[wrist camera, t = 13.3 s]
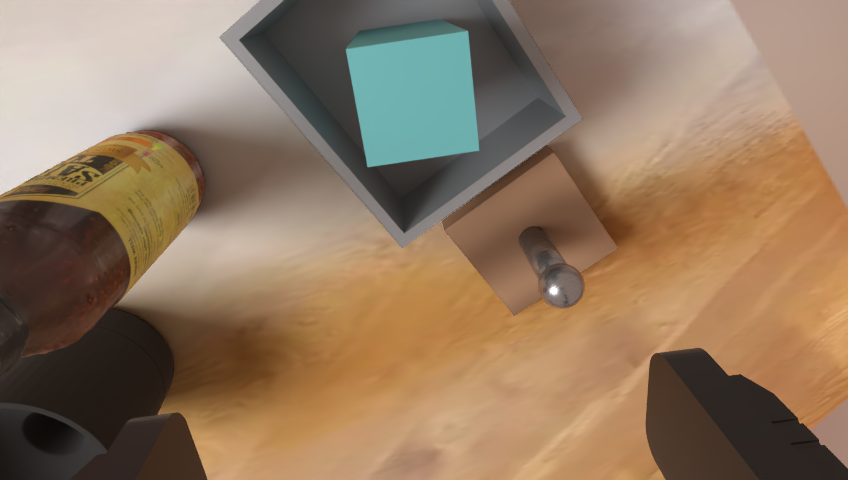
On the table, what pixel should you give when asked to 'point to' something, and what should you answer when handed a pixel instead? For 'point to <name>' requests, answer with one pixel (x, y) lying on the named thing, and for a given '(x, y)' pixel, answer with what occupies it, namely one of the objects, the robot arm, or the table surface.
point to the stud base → (519, 209)
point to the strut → (413, 91)
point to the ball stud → (551, 269)
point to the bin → (337, 113)
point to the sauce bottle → (88, 236)
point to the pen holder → (80, 397)
